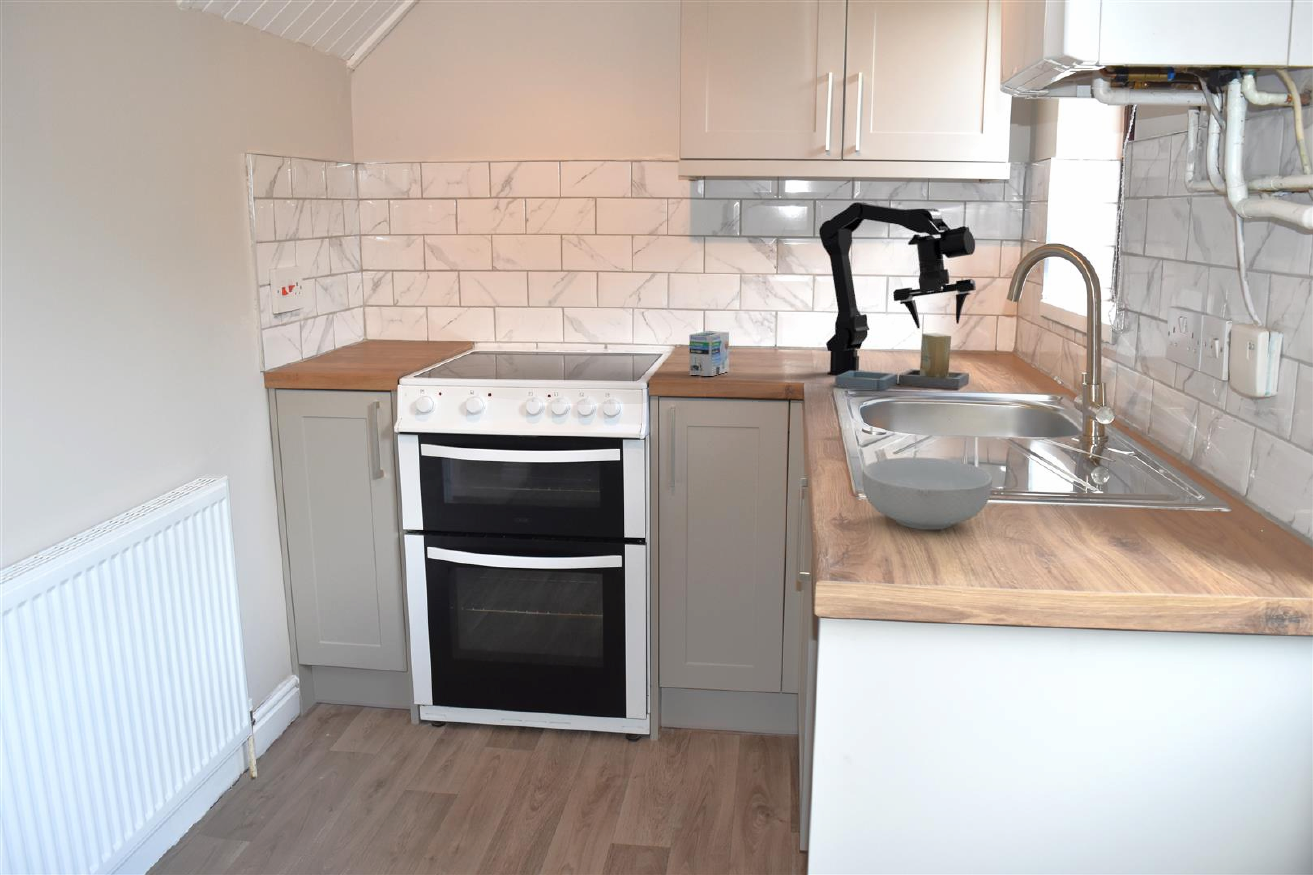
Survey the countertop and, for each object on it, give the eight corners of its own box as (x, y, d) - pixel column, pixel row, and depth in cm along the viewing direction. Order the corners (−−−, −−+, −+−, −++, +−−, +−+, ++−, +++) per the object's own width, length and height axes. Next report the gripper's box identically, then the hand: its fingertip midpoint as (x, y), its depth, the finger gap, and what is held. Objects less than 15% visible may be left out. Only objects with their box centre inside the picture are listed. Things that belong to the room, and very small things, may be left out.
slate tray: (833, 387, 250) (834, 376, 249) (850, 379, 260) (850, 370, 260) (883, 391, 244) (883, 380, 244) (898, 383, 255) (898, 373, 254)
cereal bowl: (841, 526, 140) (842, 475, 138) (887, 498, 153) (889, 451, 152) (966, 548, 130) (970, 494, 129) (1004, 516, 144) (1007, 467, 142)
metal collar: (898, 385, 252) (898, 374, 252) (910, 379, 261) (910, 369, 261) (958, 389, 245) (959, 379, 245) (968, 383, 254) (969, 373, 254)
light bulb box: (711, 378, 265) (711, 335, 263) (688, 376, 268) (688, 334, 266) (729, 372, 274) (729, 331, 272) (706, 370, 277) (706, 330, 275)
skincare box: (918, 382, 255) (920, 333, 253) (933, 381, 257) (935, 332, 254) (933, 386, 250) (936, 336, 247) (949, 385, 251) (951, 335, 248)
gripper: (886, 266, 245) (893, 332, 247) (968, 254, 238) (975, 322, 240) (893, 267, 256) (901, 330, 257) (972, 255, 248) (979, 320, 250)
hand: (938, 326), depth 251 cm, fingers open, 9 cm apart
